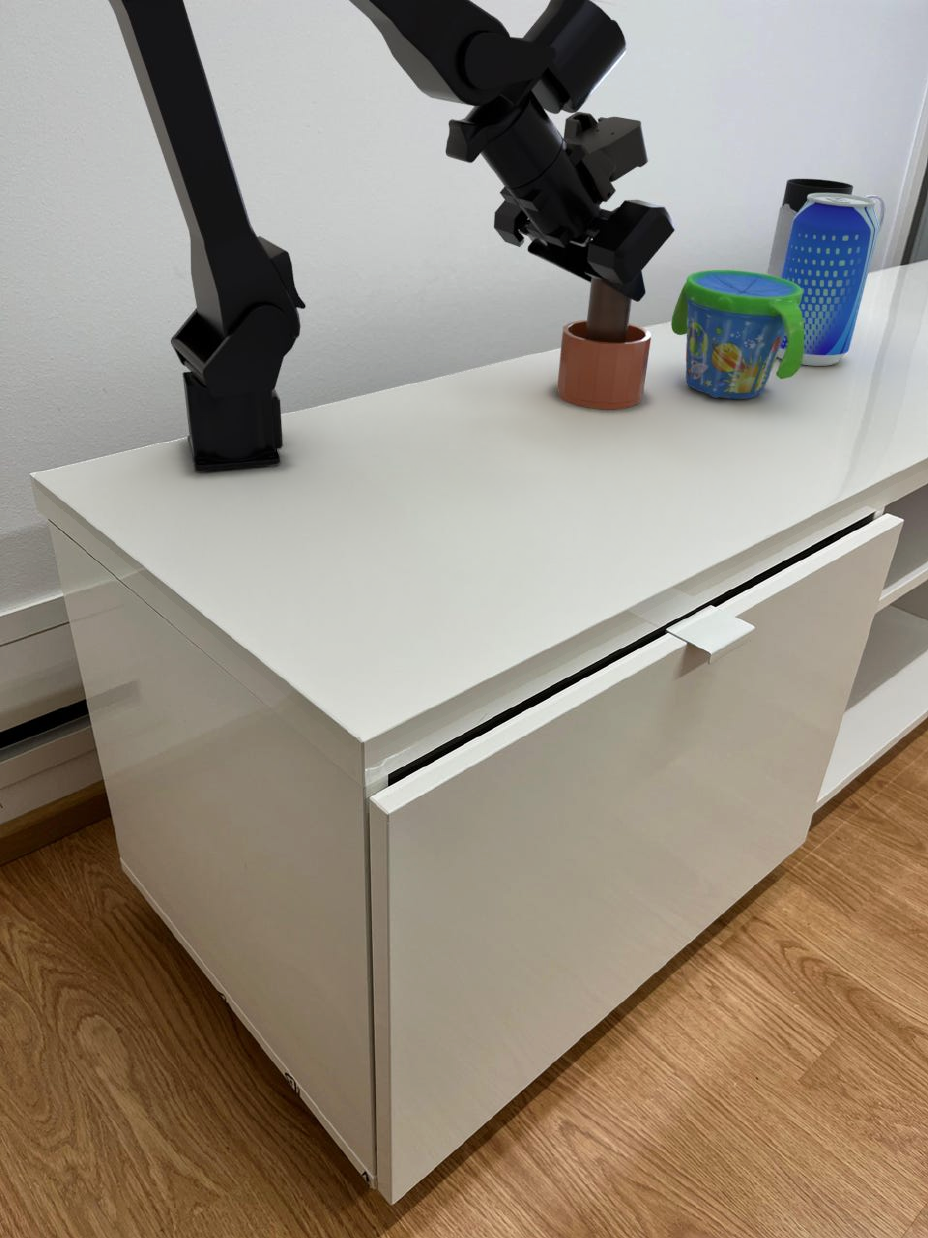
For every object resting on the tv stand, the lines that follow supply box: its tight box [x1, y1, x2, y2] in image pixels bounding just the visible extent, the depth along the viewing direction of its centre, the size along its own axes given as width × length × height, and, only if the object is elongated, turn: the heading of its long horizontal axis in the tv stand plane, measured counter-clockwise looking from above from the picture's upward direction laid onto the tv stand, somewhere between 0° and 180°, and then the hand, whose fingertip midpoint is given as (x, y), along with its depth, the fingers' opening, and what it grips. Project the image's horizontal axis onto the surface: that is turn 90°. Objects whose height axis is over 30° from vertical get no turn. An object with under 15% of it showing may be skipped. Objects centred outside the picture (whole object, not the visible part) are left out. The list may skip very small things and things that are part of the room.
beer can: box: [777, 193, 879, 367], centre depth 102 cm, size 8×8×16 cm
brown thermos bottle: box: [585, 277, 633, 343], centre depth 89 cm, size 4×4×13 cm
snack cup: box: [670, 269, 804, 400], centre depth 93 cm, size 16×10×10 cm
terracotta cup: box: [556, 319, 652, 410], centre depth 91 cm, size 8×8×6 cm
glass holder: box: [766, 178, 887, 278], centre depth 119 cm, size 9×14×15 cm, turn 106°
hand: (623, 290), depth 88 cm, fingers open, 5 cm apart
